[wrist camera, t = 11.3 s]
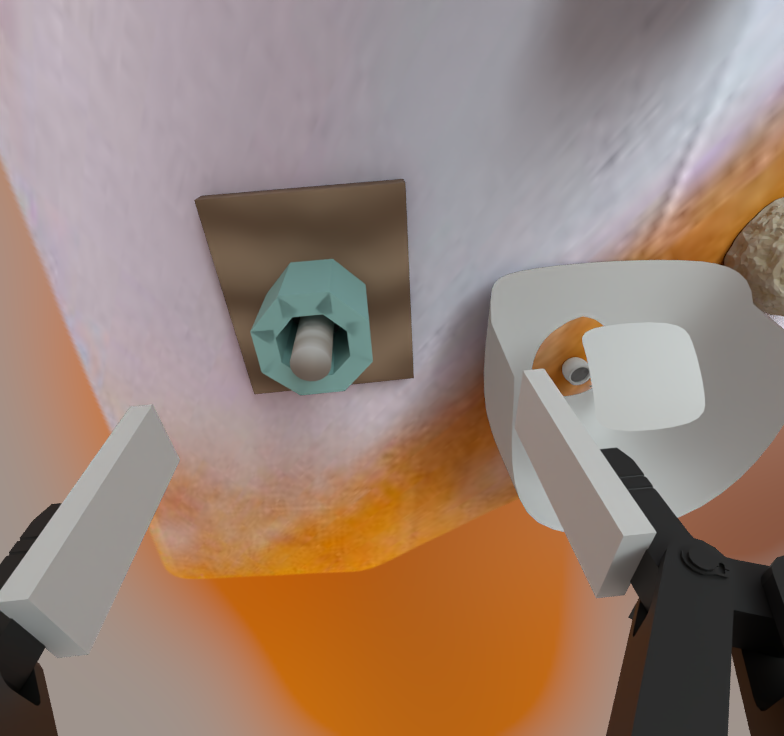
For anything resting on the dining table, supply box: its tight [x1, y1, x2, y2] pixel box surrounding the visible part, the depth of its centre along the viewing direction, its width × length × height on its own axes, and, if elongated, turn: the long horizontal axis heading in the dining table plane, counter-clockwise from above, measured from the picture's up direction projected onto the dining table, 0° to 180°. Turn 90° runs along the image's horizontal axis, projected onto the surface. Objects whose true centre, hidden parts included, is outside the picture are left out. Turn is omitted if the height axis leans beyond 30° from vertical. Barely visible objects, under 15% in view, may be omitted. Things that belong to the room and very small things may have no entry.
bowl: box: [484, 260, 784, 532], centre depth 34 cm, size 20×19×12 cm
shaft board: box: [194, 179, 414, 394], centre depth 29 cm, size 16×14×10 cm
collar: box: [250, 259, 373, 395], centre depth 28 cm, size 7×7×6 cm
